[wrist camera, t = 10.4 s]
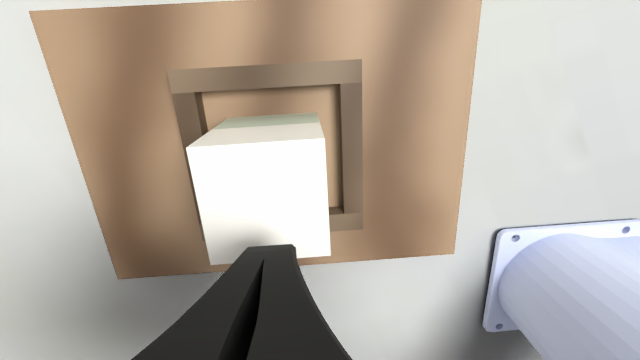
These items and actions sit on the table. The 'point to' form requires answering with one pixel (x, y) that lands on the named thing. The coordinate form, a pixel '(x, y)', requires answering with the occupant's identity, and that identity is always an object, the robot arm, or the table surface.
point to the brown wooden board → (268, 99)
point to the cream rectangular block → (262, 185)
